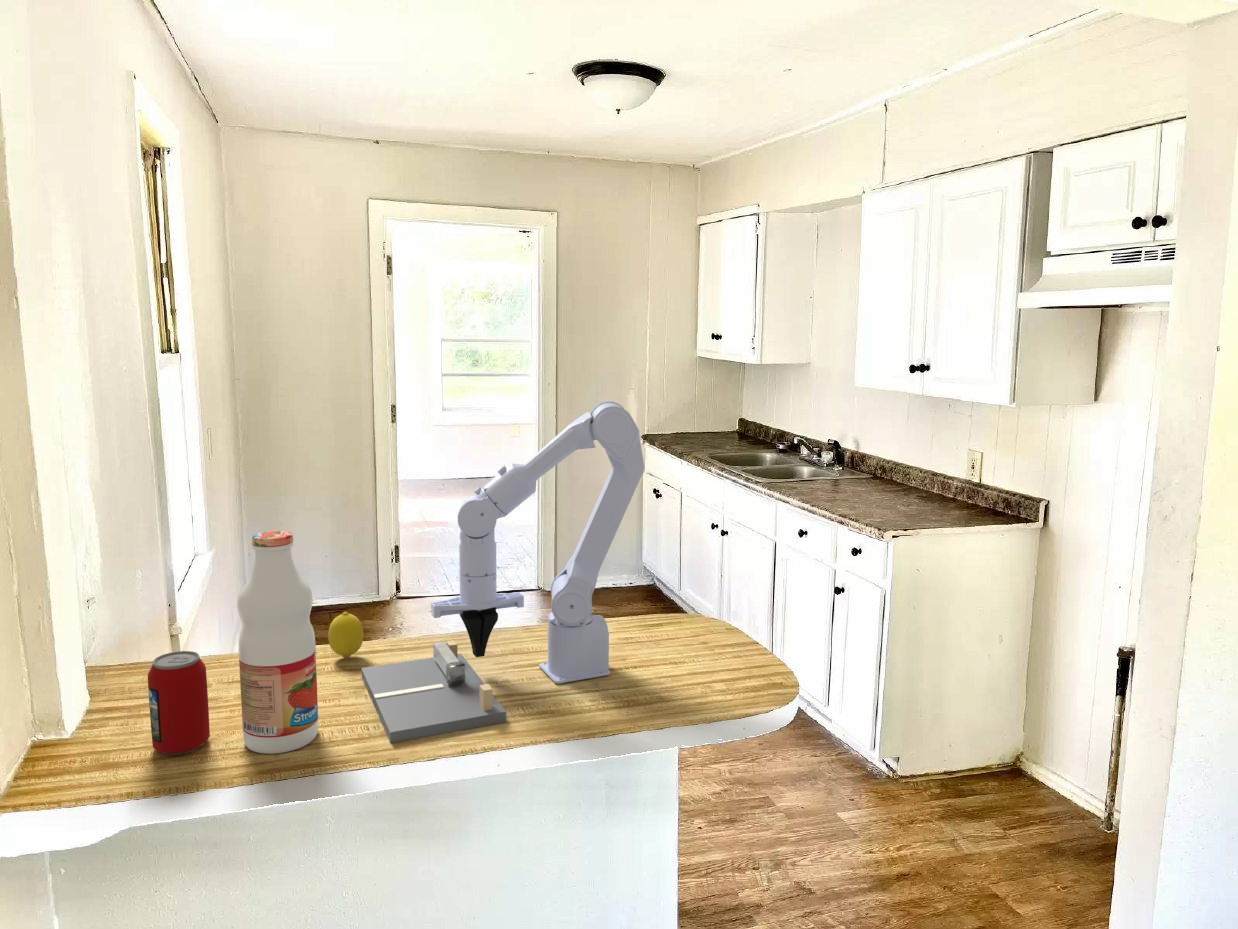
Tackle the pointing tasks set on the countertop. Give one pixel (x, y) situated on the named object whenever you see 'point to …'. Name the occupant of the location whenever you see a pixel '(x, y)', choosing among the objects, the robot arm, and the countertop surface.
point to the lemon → (345, 635)
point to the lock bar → (449, 664)
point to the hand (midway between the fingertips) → (478, 654)
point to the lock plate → (429, 698)
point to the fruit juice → (277, 651)
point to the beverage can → (178, 702)
